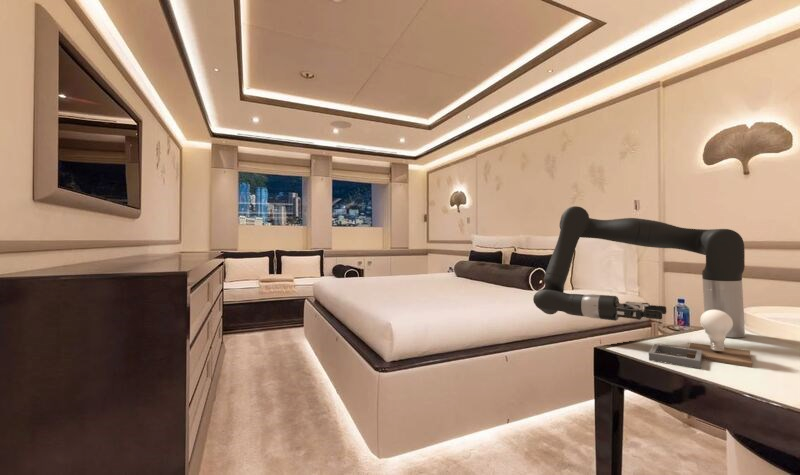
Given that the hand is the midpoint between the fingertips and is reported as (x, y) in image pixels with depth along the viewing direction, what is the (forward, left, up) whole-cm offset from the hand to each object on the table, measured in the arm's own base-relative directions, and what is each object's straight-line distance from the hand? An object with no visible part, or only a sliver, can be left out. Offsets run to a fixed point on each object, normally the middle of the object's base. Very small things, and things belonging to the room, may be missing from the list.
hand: (664, 312), depth 98 cm
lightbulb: (0, +11, -9) cm, 14 cm away
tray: (+9, +3, -10) cm, 14 cm away
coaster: (0, +11, -10) cm, 15 cm away
